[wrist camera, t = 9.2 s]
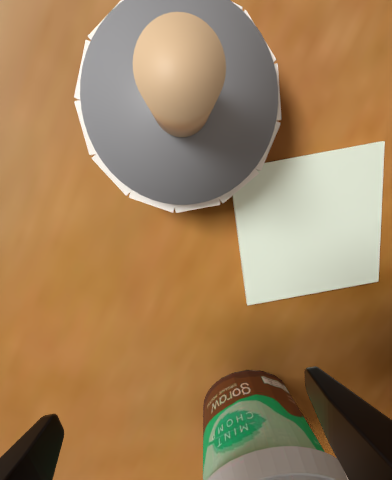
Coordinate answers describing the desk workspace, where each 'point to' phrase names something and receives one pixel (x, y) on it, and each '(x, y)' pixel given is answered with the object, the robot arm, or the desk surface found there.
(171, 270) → the desk surface
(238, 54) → the lid
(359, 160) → the mat
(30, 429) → the robot arm
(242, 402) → the food container
